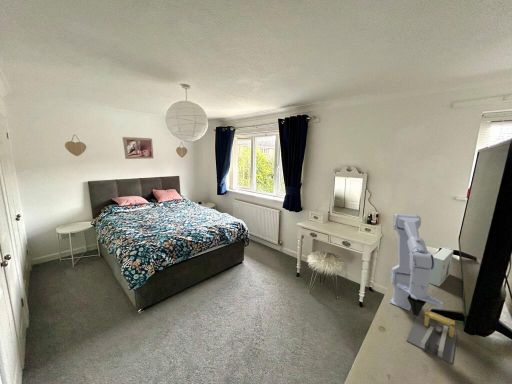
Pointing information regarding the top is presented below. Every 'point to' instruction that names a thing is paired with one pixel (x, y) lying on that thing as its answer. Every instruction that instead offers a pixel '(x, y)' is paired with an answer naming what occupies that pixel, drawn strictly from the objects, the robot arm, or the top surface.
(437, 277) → the skincare box
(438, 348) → the tongs fixed
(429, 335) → the tong arm
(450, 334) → the yellow arch block
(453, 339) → the mat
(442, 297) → the top surface
